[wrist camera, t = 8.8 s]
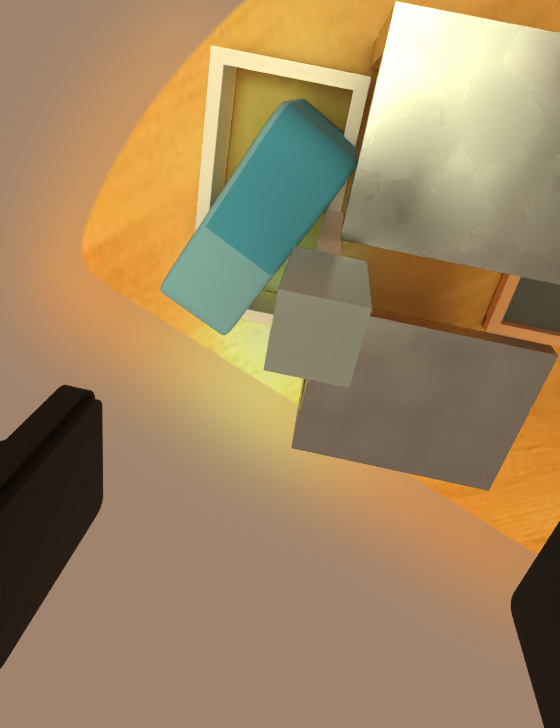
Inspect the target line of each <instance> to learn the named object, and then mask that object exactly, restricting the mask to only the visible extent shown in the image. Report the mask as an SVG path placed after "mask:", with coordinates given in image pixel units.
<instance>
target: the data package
mask: <svg viewBox="0 0 560 728" xmlns="http://www.w3.org/2000/svg"><path fill="white" fill-rule="evenodd" d="M356 164H357V158H356V148H355V146H354V145H353V144H352V143H351V142H349V141H348V140H347V139H346V138H345V137H344V133H343V132H342V131H341V130H340V129H339V128H337V127H336V126H335V125H334V124H333V123H332V122H330V121H329V120H328V119H327V118H326V117H324V116H323V115H322V114H321V113H320V112H319V111H317V110H316V109H315V108H314V107H313V106H312V105H310V104H309V103H308V102H307V101H306V100H305V99H296V100H291V101H285V102H283V103H282V104H281V105H280V106H279V107H278V108H277V109H276V110H275V112H274V113H273V114H272V116H271V117H270V118H269V120H268V121H267V123H266V124H265V126H264V127H263V129H262V130H261V132H260V133H259V135H258V136H257V138H256V139H255V141H254V142H253V144H252V145H251V147H250V148H249V150H248V152H247V153H246V155H245V156H244V158H243V159H242V161H241V162H240V164H239V165H238V167H237V168H236V170H235V172H234V173H233V175H232V176H231V178H230V179H229V181H228V182H227V184H226V185H225V187H224V188H223V190H222V192H221V193H220V195H219V196H218V198H217V199H216V201H215V202H214V204H213V205H212V207H211V208H210V210H209V212H208V213H207V215H206V216H205V218H204V219H203V221H202V222H201V224H200V225H199V227H198V228H197V230H196V232H195V233H194V235H193V236H192V238H191V239H190V241H189V242H188V244H187V245H186V247H185V249H184V250H183V252H182V253H181V255H180V256H179V258H178V259H177V261H176V262H175V264H174V265H173V267H172V269H171V270H170V272H169V273H168V275H167V276H166V278H165V280H164V281H163V283H162V285H161V292H162V293H163V294H165V295H166V296H167V297H169V298H170V299H172V300H173V301H175V302H176V303H177V304H179V305H180V306H182V307H183V308H184V309H186V310H187V311H189V312H190V313H192V314H193V315H194V316H196V317H197V318H199V319H200V320H201V321H203V322H204V323H206V324H207V325H209V326H210V327H211V328H213V329H214V330H216V331H217V332H218V333H220V334H221V335H226V334H227V333H229V332H230V331H231V329H232V328H233V327H234V326H235V325H236V323H237V322H238V321H239V319H240V318H241V317H242V316H243V314H244V313H245V312H246V310H247V309H248V308H249V307H250V305H251V304H252V303H253V301H254V300H255V299H256V298H257V296H258V295H259V294H260V292H261V291H262V290H263V289H264V287H265V286H266V285H267V284H268V282H269V281H270V280H271V278H272V277H273V276H274V275H275V273H276V272H277V271H278V269H279V268H280V267H281V266H282V264H283V263H284V262H285V260H286V259H287V258H288V257H289V255H290V254H291V253H292V250H293V247H294V246H297V245H298V244H299V242H300V241H301V240H302V239H303V237H304V236H305V235H306V233H307V232H308V231H309V230H310V228H311V227H312V226H313V224H314V223H315V222H316V221H317V219H318V218H319V217H320V215H321V214H322V213H323V212H324V210H325V209H326V208H327V206H328V205H329V204H330V203H331V201H332V200H333V199H334V197H335V196H336V195H337V194H338V192H339V191H340V190H341V188H342V187H343V185H344V184H345V183H346V181H347V180H348V178H349V177H350V175H351V174H352V172H353V171H354V169H355V167H356Z"/></svg>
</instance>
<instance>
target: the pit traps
mask: <svg viewBox="0 0 560 728" xmlns="http://www.w3.org/2000/svg"><path fill="white" fill-rule="evenodd" d="M482 326H483V328H484V329H485V331H486V332H491V333H495V334H500V335H505V336H510V337H515V338H519V339H524V340H529V341H534V342H539V343H543V344H548V345H553V346H558V347H560V285H558V284H553V283H549V282H544V281H539V280H534V279H529V278H524V277H519V276H515V275H510V274H505V273H503V275H502V278H501V280H500V283H499V285H498V287H497V290H496V292H495V295H494V297H493V299H492V302H491V304H490V307H489V309H488V312H487V314H486V316H485V319H484V321H483V324H482Z"/></svg>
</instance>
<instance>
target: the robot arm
mask: <svg viewBox="0 0 560 728" xmlns="http://www.w3.org/2000/svg"><path fill="white" fill-rule="evenodd" d="M102 443H103V439H102V403H101V401H100V400H97V399H95V395H94V393H93V392H92V391H90V390H86V389H82V388H77V387H72V386H68V385H63V386H61V387H59V388H58V389H57V390H56V391H55V392H54V393H53V394H52V395H51V396H50V397H49V398H48V399H47V400H46V401H45V402H44V403H43V404H42V405H41V406H40V407H39V408H38V409H37V410H36V411H35V412H34V413H33V414H32V415H30V416H29V418H28V419H26V420H25V421H24V422H23V423H22V425H20V426H19V427H18V428H17V429H16V430H15V431H14V432H13V433H12V434H11V435H10V436H9V437H8V438H7V439H6V440H3V441H0V668H1V667H2V666H3V665H4V663H5V661H6V660H7V658H8V657H9V655H10V654H11V652H12V650H13V649H14V647H15V646H16V644H17V642H18V641H19V639H20V638H21V636H22V634H23V632H24V631H25V630H26V628H27V626H28V625H29V623H30V622H31V620H32V618H33V617H34V615H35V614H36V612H37V610H38V608H39V607H40V605H41V604H42V602H43V601H44V599H45V598H46V596H47V594H48V592H49V591H50V590H51V588H52V586H53V585H54V583H55V581H56V580H57V578H58V577H59V575H60V573H61V572H62V570H63V569H64V567H65V565H66V564H67V562H68V561H69V559H70V557H71V556H72V554H73V553H74V551H75V549H76V548H77V546H78V544H79V543H80V541H81V540H82V538H83V537H84V535H85V533H86V532H87V530H88V529H89V527H90V525H91V523H92V522H93V521H94V519H95V517H96V516H97V514H98V512H99V510H100V508H101V504H102V500H103V450H102V449H103V444H102ZM511 612H512V617H513V620H514V624H515V627H516V630H517V634H518V638H519V641H520V644H521V648H522V652H523V655H524V658H525V662H526V665H527V669H528V672H529V676H530V679H531V683H532V686H533V690H534V693H535V697H536V700H537V704H538V707H539V711H540V714H541V718H542V721H543V725H544V728H560V521H559V523H558V525H557V526H556V528H555V529H554V531H553V532H552V534H551V535H550V537H549V539H548V540H547V542H546V543H545V545H544V546H543V548H542V550H541V551H540V553H539V554H538V556H537V557H536V559H535V560H534V562H533V564H532V565H531V567H530V568H529V570H528V572H527V573H526V575H525V576H524V578H523V580H522V581H521V582H520V584H519V585H518V587H517V589H516V590H515V592H514V594H513V596H512V599H511Z"/></svg>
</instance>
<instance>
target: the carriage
mask: <svg viewBox="0 0 560 728" xmlns="http://www.w3.org/2000/svg"><path fill="white" fill-rule="evenodd" d="M237 67H238V68H244V69H249V70H254V71H259V72H264V73H269V74H274V75H279V76H284V77H289V78H294V79H299V80H304V81H309V82H314V83H319V84H324V85H329V86H334V87H340V88H345V89H350V90H353V94H352V98H351V103H350V108H349V112H348V117H347V122H346V126H345V131H344V137H345V138H346V139H347V140H348V141H349V142H351V143H352V144H353V145H354V146H356V142H357V137H358V133H359V129H360V124H361V120H362V115H363V111H364V107H365V102H366V98H367V93H368V89H369V85H370V80H371V77H370V76H365V75H359V74H354V73H349V72H344V71H339V70H334V69H329V68H324V67H319V66H314V65H309V64H304V63H299V62H294V61H288V60H283V59H278V58H273V57H268V56H263V55H258V54H253V53H248V52H243V51H238V50H233V49H228V48H222V47H217V46H212V45H211V54H210V65H209V77H208V88H207V100H206V111H205V123H204V135H203V146H202V158H201V169H200V181H199V192H198V204H197V215H196V227H195V232H196V230H197V228H198V227H199V225H200V224H201V222H202V221H203V219H204V218H205V216H206V215H207V213H208V212H209V210H210V208H211V207H212V205H213V204H214V202H215V201H216V199H217V198H218V196H219V195H220V193H221V192H222V190H223V188H224V184H225V175H226V166H227V157H228V148H229V139H230V130H231V121H232V112H233V103H234V94H235V85H236V76H237ZM347 181H348V180H347ZM347 181H346V183H345V184H344V185H343V187H342V188H341V190H340V191H339V192H338V194H337V195H336V196H335V197H334V199H333V200H332V201H331V203H330V204H329V206H328V209H325V211H324V215H323V220H322V224H321V229H320V234H319V238H318V243H317V248H316V250H311V249H307V248H302V247H297V246H294V247H293V250H292V253H291V255H290V258H289V261H288V264H287V266H286V269H285V272H284V275H283V277H282V280H281V283H280V286H279V288H278V293H277V294H275V293H270V292H265V291H261V292H260V294H259V295H258V296H257V298H256V299H255V300H254V301H253V303H252V304H251V305H250V307H249V308H248V309H247V310H246V312H245V313H244V314H243V316H242V317H241V319H246V320H251V321H255V322H260V323H265V324H270V325H272V327H271V332H270V338H269V343H268V349H267V354H266V360H265V365H264V370H266V371H271V372H276V373H280V374H285V375H290V376H294V377H299V378H304V379H309V380H313V381H318V382H323V383H327V384H332V385H337V386H342V387H346V388H349V387H350V384H351V380H352V377H353V373H354V370H355V366H356V363H357V359H358V356H359V352H360V349H361V345H362V342H363V338H364V335H365V331H366V328H367V324H368V321H369V317H370V314H371V310H372V304H371V294H370V284H369V274H368V264H367V261H365V260H360V259H355V258H350V257H345V256H341V251H342V240H340V234H341V230H342V225H343V215H344V212H341V208H342V203H343V199H344V194H345V190H346V186H347Z"/></svg>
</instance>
